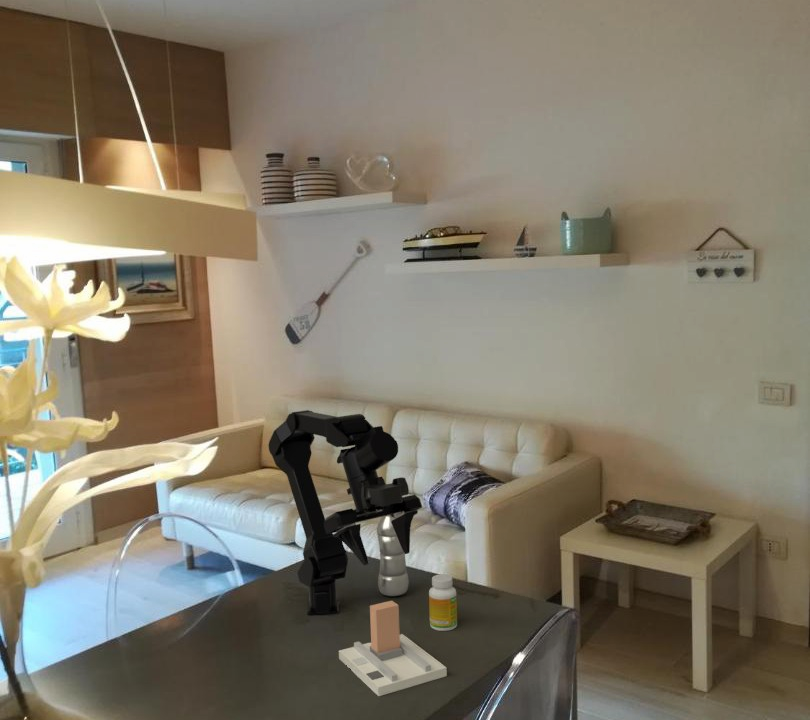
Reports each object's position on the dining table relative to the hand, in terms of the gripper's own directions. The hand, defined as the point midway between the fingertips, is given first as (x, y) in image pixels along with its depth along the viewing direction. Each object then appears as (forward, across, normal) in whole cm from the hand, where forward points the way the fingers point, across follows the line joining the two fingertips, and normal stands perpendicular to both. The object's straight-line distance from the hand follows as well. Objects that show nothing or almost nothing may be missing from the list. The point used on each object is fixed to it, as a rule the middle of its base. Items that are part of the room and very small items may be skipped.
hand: (387, 559), depth 148 cm
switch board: (+18, -4, +2) cm, 19 cm away
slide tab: (+16, -4, +3) cm, 16 cm away
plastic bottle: (+5, +16, +27) cm, 32 cm away
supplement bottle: (+15, +14, +9) cm, 22 cm away
